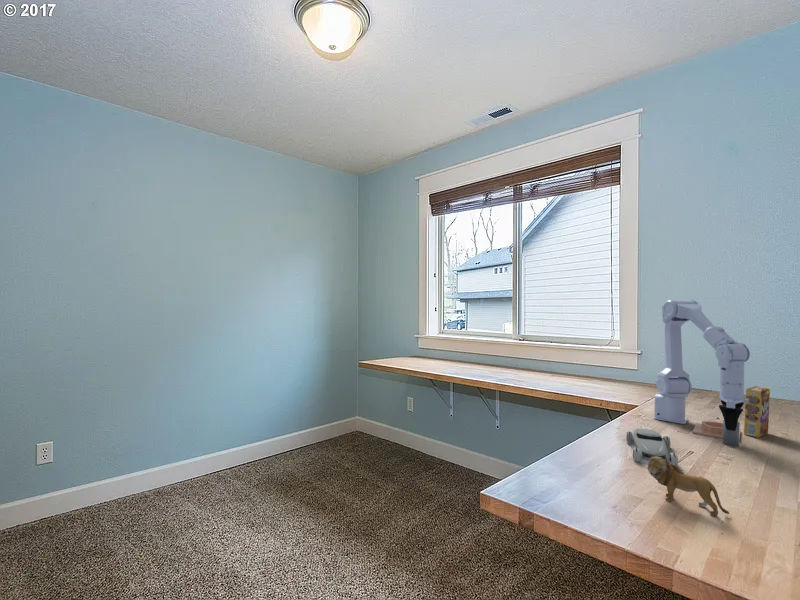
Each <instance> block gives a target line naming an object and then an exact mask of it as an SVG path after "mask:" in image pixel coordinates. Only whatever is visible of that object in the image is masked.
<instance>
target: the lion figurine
mask: <svg viewBox="0 0 800 600" xmlns="http://www.w3.org/2000/svg"><path fill="white" fill-rule="evenodd" d="M648 459H649V462H648V465H647V467H646V468H647V471H648V473H649V475H650V476H652V478H654V479H655V480H657V483H658V484H659V485H662V486H664V487H666V491H667V493H665V499H664V500H665V501H666V502H667V503H673V502H674V500H675V496H674V493H675V490H676V489H677V490H679V491H683V492H685V493H695V492H697V493H698V494H699V496H700V498H701V499H702V500H703V502H699V503H698V505H697V506H699V507H702V508H706V507H707V506H708V507H710V508H711V509H712V510H711V511H709V514H710V515H711V516H712V517H718V514H719V511H718V507H719V509H720V510H721V512H722V513H724V514H727V515H730V512H729V510H727V509H725V508H723V506H722V504H721V501H720V497H719V494H718V491H717V488H716V487H715V485H714V484H713V483H712V482H711V481H710V480H708V479H707V478H705V477H702V476H696V475H690V474H687V473H684V472H682V471H681V470H680V469H679V468H678V467H676V466H675V465H672V464H671V463H669V462H668V461H667V460H665V459H663V458H661V457H658V456H657V457H656V456H654V457H651V458H648ZM711 492H713V494H714V495H713V496H714V498H715V501H716V503H717V504H716V503H715V502H714V499H712V495H711Z"/></svg>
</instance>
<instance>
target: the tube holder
mask: <svg viewBox="0 0 800 600" xmlns="http://www.w3.org/2000/svg"><path fill="white" fill-rule="evenodd" d="M695 433H698V434H697V435H701V434H703V435H702V436H706V435H708V436H707V437H712V436H714V437H713V438H717V437H718V439H723V422H720V421H711V420H704V421H702V422H701V423H699V422H695V425H694V427H693V430H692V434H695ZM740 441H741V430H740V429H739V443H740Z"/></svg>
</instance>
